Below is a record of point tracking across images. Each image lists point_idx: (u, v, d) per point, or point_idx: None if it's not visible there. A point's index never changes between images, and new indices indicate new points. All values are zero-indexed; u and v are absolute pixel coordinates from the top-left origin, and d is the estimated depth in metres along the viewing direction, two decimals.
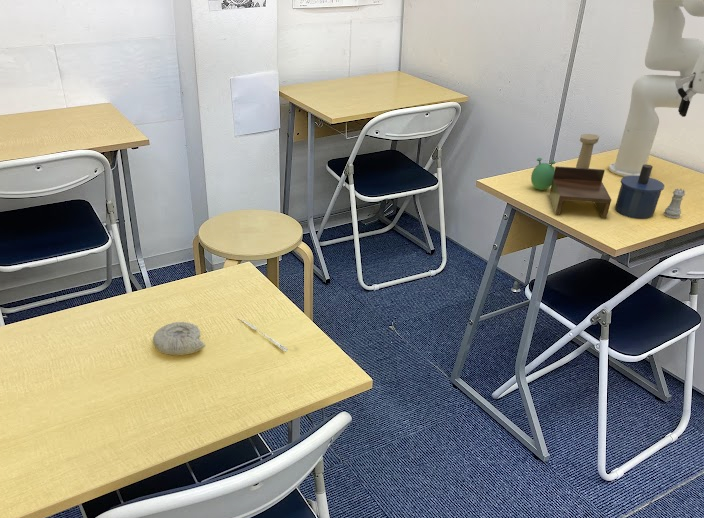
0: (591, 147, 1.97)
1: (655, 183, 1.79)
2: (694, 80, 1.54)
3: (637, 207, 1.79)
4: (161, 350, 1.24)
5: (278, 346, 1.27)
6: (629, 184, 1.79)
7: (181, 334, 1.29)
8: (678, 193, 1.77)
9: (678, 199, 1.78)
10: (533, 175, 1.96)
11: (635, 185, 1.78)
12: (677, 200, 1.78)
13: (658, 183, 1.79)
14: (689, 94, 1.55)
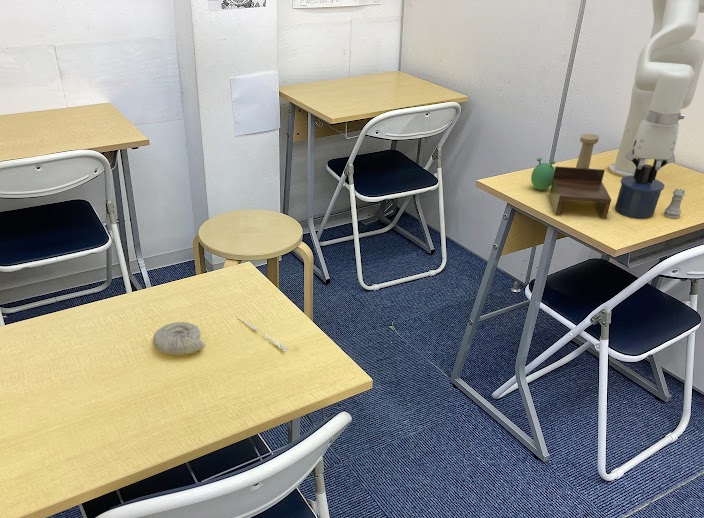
0: (591, 147, 1.97)
1: (655, 183, 1.79)
2: (635, 147, 1.74)
3: (637, 207, 1.79)
4: (161, 350, 1.24)
5: (278, 346, 1.27)
6: (629, 184, 1.79)
7: (181, 334, 1.29)
8: (678, 193, 1.77)
9: (678, 199, 1.78)
10: (533, 175, 1.96)
11: (635, 185, 1.78)
12: (677, 200, 1.78)
13: (659, 183, 1.79)
14: (639, 163, 1.76)
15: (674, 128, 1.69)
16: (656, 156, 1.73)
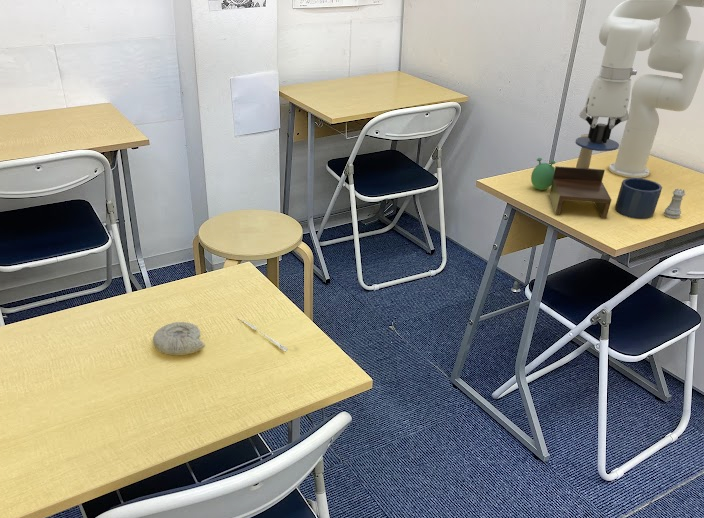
0: None
1: (609, 143, 1.75)
2: (588, 104, 1.71)
3: (637, 207, 1.79)
4: (161, 350, 1.24)
5: (278, 346, 1.27)
6: (583, 143, 1.75)
7: (181, 334, 1.29)
8: (678, 193, 1.77)
9: (678, 199, 1.78)
10: (533, 175, 1.96)
11: (589, 144, 1.74)
12: (677, 200, 1.78)
13: (613, 142, 1.76)
14: (593, 122, 1.72)
15: (626, 84, 1.65)
16: (610, 114, 1.70)
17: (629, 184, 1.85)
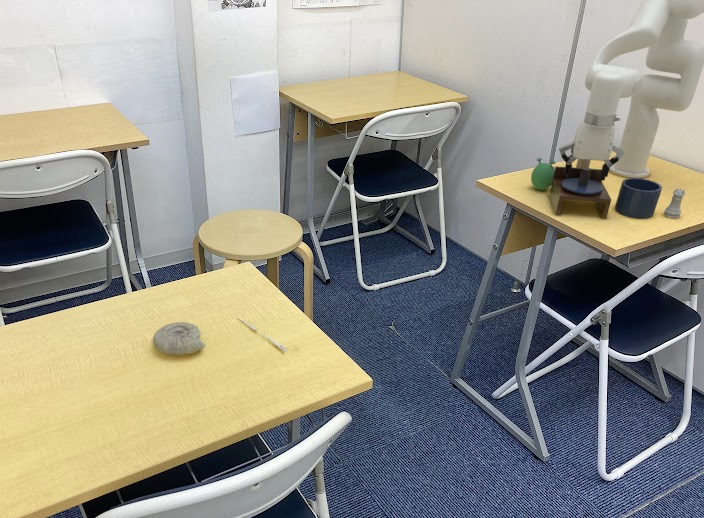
0: None
1: (594, 186, 1.82)
2: (574, 148, 1.77)
3: (637, 207, 1.79)
4: (161, 350, 1.24)
5: (278, 346, 1.27)
6: (569, 186, 1.82)
7: (181, 334, 1.29)
8: (678, 193, 1.77)
9: (678, 199, 1.78)
10: (533, 175, 1.96)
11: (574, 187, 1.81)
12: (677, 200, 1.78)
13: (598, 185, 1.83)
14: (570, 159, 1.79)
15: (610, 129, 1.72)
16: (595, 157, 1.77)
17: (629, 184, 1.85)
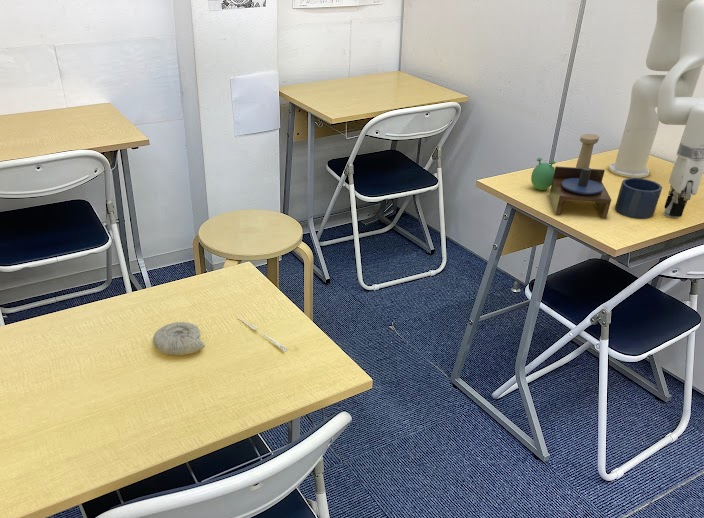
0: (591, 147, 1.97)
1: (594, 186, 1.82)
2: None
3: (637, 207, 1.79)
4: (161, 350, 1.24)
5: (278, 346, 1.27)
6: (569, 186, 1.82)
7: (181, 334, 1.29)
8: None
9: None
10: (533, 175, 1.96)
11: (574, 187, 1.81)
12: None
13: (598, 185, 1.83)
14: (670, 189, 1.81)
15: (685, 162, 1.71)
16: (675, 187, 1.77)
17: (629, 184, 1.85)
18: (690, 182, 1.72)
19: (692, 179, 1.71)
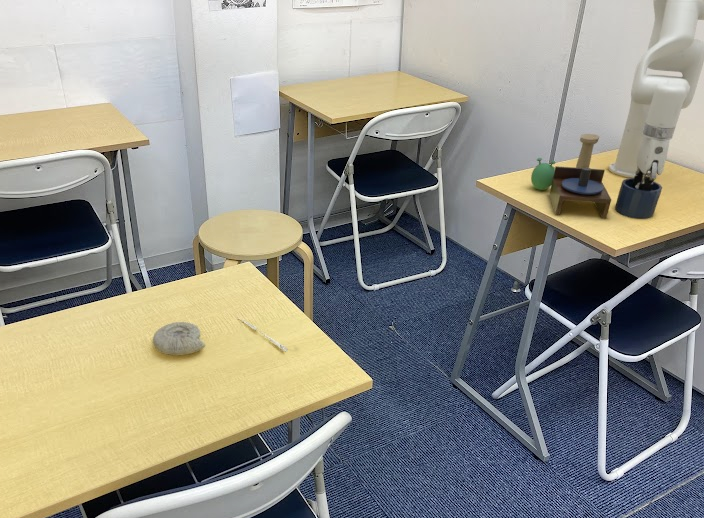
0: (591, 147, 1.97)
1: (594, 186, 1.82)
2: None
3: (637, 207, 1.79)
4: (161, 350, 1.24)
5: (278, 346, 1.27)
6: (569, 186, 1.82)
7: (181, 334, 1.29)
8: None
9: None
10: (533, 175, 1.96)
11: (574, 187, 1.81)
12: None
13: (598, 185, 1.83)
14: (637, 169, 1.82)
15: (650, 141, 1.71)
16: (641, 167, 1.77)
17: (629, 184, 1.85)
18: (655, 162, 1.72)
19: (657, 159, 1.71)
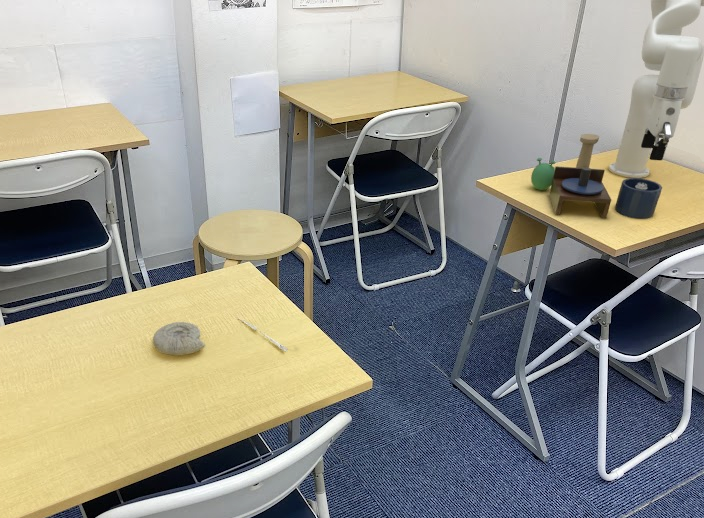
0: (591, 147, 1.97)
1: (594, 186, 1.82)
2: None
3: (637, 207, 1.79)
4: (161, 350, 1.24)
5: (278, 346, 1.27)
6: (569, 186, 1.82)
7: (181, 334, 1.29)
8: (640, 187, 1.80)
9: None
10: (533, 175, 1.96)
11: (574, 187, 1.81)
12: None
13: (598, 185, 1.83)
14: (647, 128, 1.77)
15: (661, 102, 1.65)
16: (651, 130, 1.71)
17: (629, 184, 1.85)
18: (667, 122, 1.66)
19: (669, 121, 1.66)
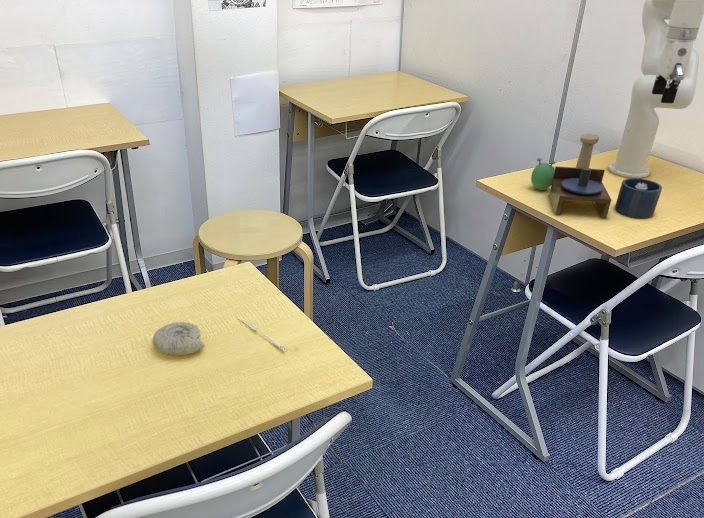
0: (591, 147, 1.97)
1: (594, 186, 1.82)
2: None
3: (637, 207, 1.79)
4: (161, 350, 1.24)
5: (278, 346, 1.27)
6: (569, 186, 1.82)
7: (181, 334, 1.29)
8: (640, 187, 1.80)
9: None
10: (533, 175, 1.96)
11: (574, 187, 1.81)
12: None
13: (598, 185, 1.83)
14: (658, 74, 1.79)
15: (673, 44, 1.67)
16: (663, 73, 1.73)
17: (629, 184, 1.85)
18: (679, 63, 1.68)
19: (680, 62, 1.67)
